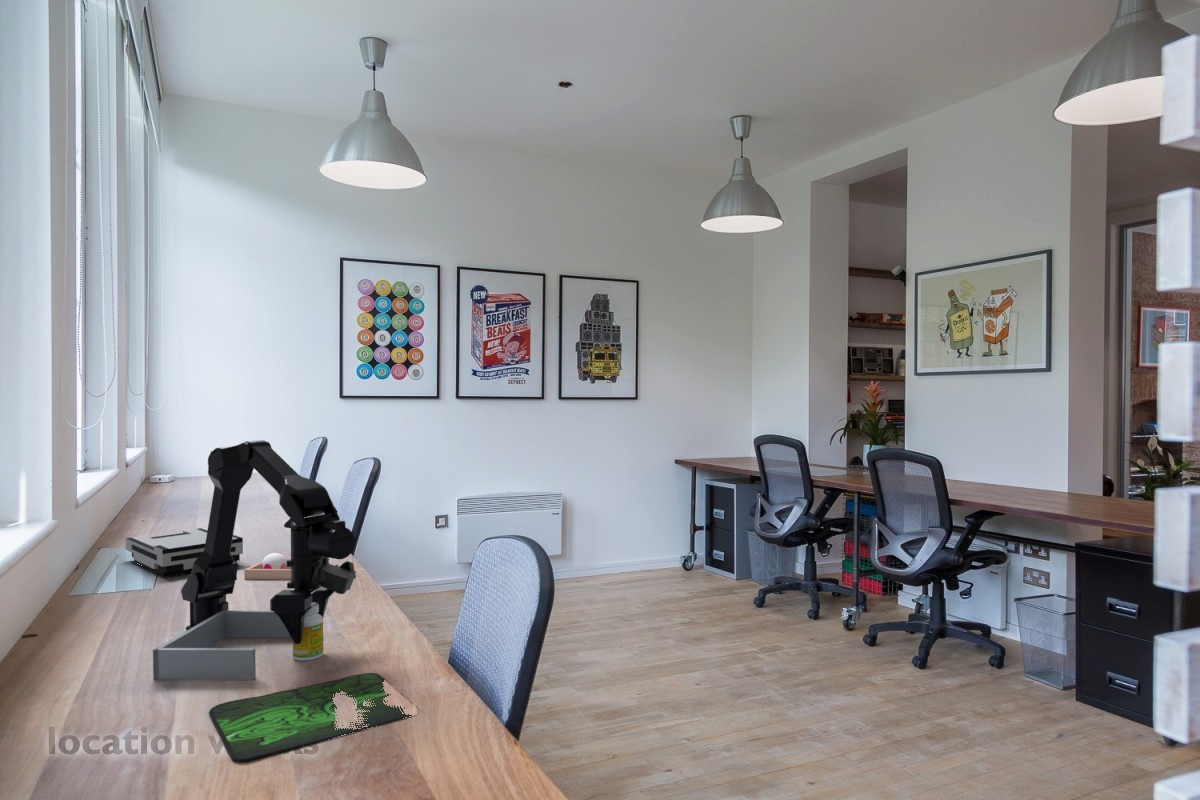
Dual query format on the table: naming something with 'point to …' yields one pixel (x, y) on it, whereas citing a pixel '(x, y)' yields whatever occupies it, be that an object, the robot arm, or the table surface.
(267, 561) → the stress ball
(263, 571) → the ball dish
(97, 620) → the table surface
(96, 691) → the table surface
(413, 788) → the table surface
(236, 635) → the open side box
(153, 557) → the game console
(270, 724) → the mouse mat
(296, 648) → the supplement bottle
